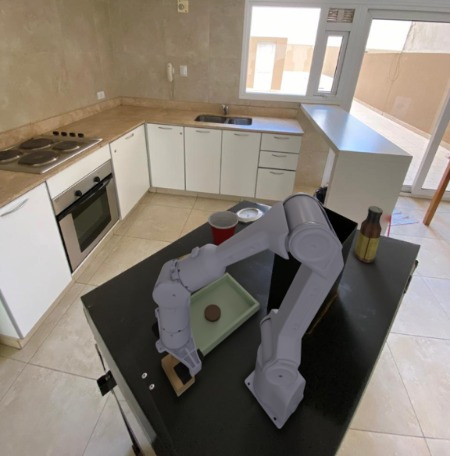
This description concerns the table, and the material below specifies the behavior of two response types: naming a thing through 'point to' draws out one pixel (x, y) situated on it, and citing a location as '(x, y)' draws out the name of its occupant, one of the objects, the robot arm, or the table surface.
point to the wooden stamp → (168, 366)
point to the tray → (230, 311)
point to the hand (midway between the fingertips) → (177, 363)
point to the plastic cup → (222, 225)
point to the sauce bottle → (369, 235)
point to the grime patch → (212, 313)
